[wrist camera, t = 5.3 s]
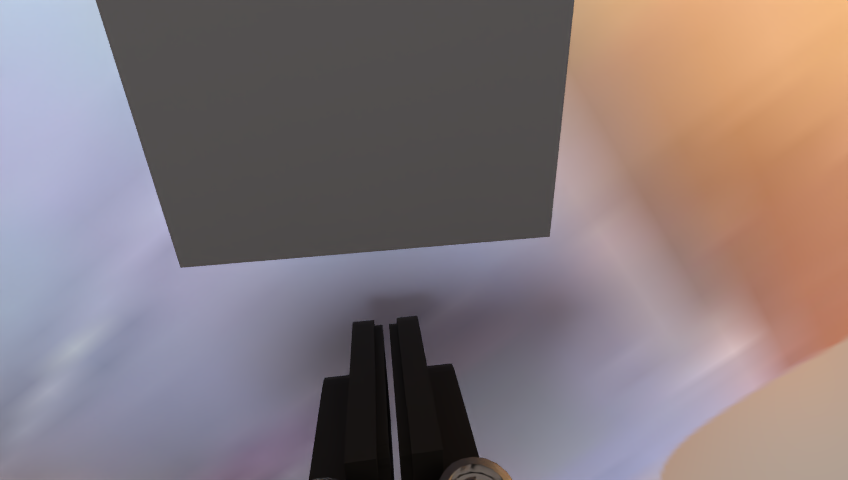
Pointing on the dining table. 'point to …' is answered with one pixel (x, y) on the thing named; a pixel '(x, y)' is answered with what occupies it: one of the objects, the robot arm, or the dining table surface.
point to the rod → (344, 120)
